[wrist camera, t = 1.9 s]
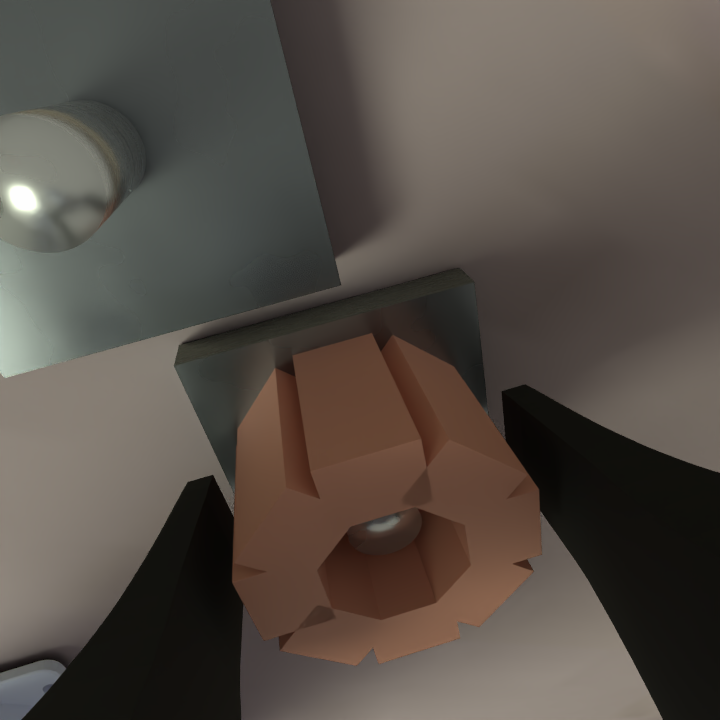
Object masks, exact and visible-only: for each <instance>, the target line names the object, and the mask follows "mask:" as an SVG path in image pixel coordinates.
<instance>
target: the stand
mask: <svg viewBox="0 0 720 720" xmlns="http://www.w3.org/2000/svg"><path fill="white" fill-rule="evenodd" d="M370 333H372V334H373V337H374V339H375V341H376V343H377V345H378V347H379V349H380V352H381V351H382V349H383V348H384V346H385V345H386V343H387V342H388V341H389V339H390V338H391V336H392V335H394V336H396V337H398V338H400V339H402V340H404V341H406V342H408V343H410V344H411V345H413V346H415V347H417V348H419V349H421V350H423V351H425V352H427V353H429V354H431V355H433V356H435V357H437V358H438V359H440V360H442V361H444V362H446V363H448V364H450V365H452V366H454V367H455V369H456V370H457V372H458V373H459V375H460V376H461V378H462V379H463V380H464V381H465V383H466V384H467V386H468V387H469V389H470V390H471V392H472V393H473V394H474V396H475V397H476V399H477V400H478V402H479V403H480V405H481V406H482V408H483V409H484V410H485V412H486V413H487V415H488V408H487V398H486V389H485V379H484V370H483V360H482V351H481V341H480V332H479V322H478V313H477V303H476V294H475V284H474V281H473V280H471V279H470V278H469V277H468V276H467V275H466V274H465V273H464V272H463V271H462V270H461V269H460V268H456V269H453V270H449V271H445V272H442V273H438V274H435V275H431V276H427V277H424V278H420V279H417V280H413V281H409V282H406V283H402V284H398V285H395V286H391V287H388V288H384V289H380V290H377V291H373V292H370V293H366V294H362V295H359V296H355V297H352V298H348V299H344V300H341V301H337V302H334V303H330V304H326V305H323V306H319V307H315V308H312V309H308V310H305V311H301V312H297V313H294V314H290V315H287V316H283V317H279V318H276V319H272V320H269V321H265V322H261V323H258V324H254V325H251V326H247V327H243V328H240V329H236V330H233V331H229V332H225V333H222V334H218V335H214V336H211V337H207V338H204V339H200V340H196V341H193V342H189V343H186V344H182V345H179V347H178V352H177V356H176V360H175V364H174V367H175V369H176V371H177V374H178V376H179V378H180V380H181V382H182V384H183V386H184V388H185V390H186V393H187V395H188V397H189V399H190V401H191V403H192V405H193V407H194V410H195V412H196V414H197V416H198V418H199V420H200V422H201V424H202V426H203V429H204V431H205V433H206V435H207V437H208V439H209V441H210V443H211V446H212V448H213V450H214V452H215V454H216V456H217V458H218V460H219V462H220V465H221V467H222V469H223V471H224V473H225V475H226V477H227V479H228V482H229V484H230V486H231V488H232V490H233V492H234V494H235V468H236V445H237V430H238V427H239V426H240V424H241V422H242V421H243V419H244V418H245V416H246V414H247V413H248V411H249V409H250V408H251V406H252V405H253V403H254V401H255V400H256V398H257V396H258V395H259V393H260V392H261V390H262V388H263V387H264V385H265V383H266V382H267V380H268V379H269V377H270V375H271V374H272V372H273V371H274V369H275V368H277V369H279V370H281V371H283V372H286V373H288V374H290V375H293V376H295V369H294V363H293V356H292V355H296V354H299V353H303V352H306V351H310V350H313V349H317V348H320V347H324V346H328V345H331V344H335V343H338V342H342V341H345V340H349V339H352V338H356V337H360V336H363V335H367V334H370ZM295 377H296V376H295ZM421 526H422V517H421V514H420V512H419V509H418V508H416V507H414V508H411V509H407V510H404V511H401V512H397V513H394V514H391V515H387V516H384V517H381V518H377V519H374V520H371V521H367V522H364V523H361V524H358V525H354V526H351V527H350V528H349V529H348V531H347V535H348V539H349V542H350V544H351V545H352V546H353V547H354V548H355V549H356V550H358V551H359V552H362V553H364V554H368V555H386V554H390V553H393V552H396V551H399V550H401V549H402V548H404V547H406V546H407V545H409V544H410V543H411V542H412V541H413V540H414V539H415V538H416V537H417V535H418V533H419V532H420V529H421Z"/></svg>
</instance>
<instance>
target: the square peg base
mask: <svg viewBox="0 0 720 720" xmlns="http://www.w3.org/2000/svg"><path fill="white" fill-rule="evenodd" d="M340 285H341V282H340V278H339V274H338V270H337V266H336V262H335V258H334V254H333V250H332V246H331V242H330V238H329V234H328V230H327V226H326V222H325V218H324V214H323V210H322V206H321V202H320V198H319V194H318V190H317V186H316V182H315V178H314V174H313V170H312V166H311V162H310V158H309V154H308V150H307V146H306V142H305V138H304V134H303V130H302V126H301V122H300V118H299V114H298V110H297V106H296V102H295V98H294V94H293V90H292V86H291V82H290V78H289V74H288V70H287V66H286V62H285V58H284V54H283V50H282V46H281V42H280V38H279V34H278V30H277V26H276V22H275V18H274V14H273V10H272V6H271V2H270V0H0V372H1V374H2V375H3V377H4V378H6V377H10V376H13V375H17V374H21V373H24V372H28V371H32V370H35V369H39V368H42V367H46V366H50V365H53V364H57V363H61V362H64V361H68V360H72V359H75V358H79V357H82V356H86V355H90V354H93V353H97V352H101V351H104V350H108V349H111V348H115V347H119V346H122V345H126V344H130V343H133V342H137V341H140V340H144V339H148V338H151V337H155V336H159V335H162V334H166V333H170V332H173V331H177V330H180V329H184V328H188V327H191V326H195V325H199V324H202V323H206V322H209V321H213V320H217V319H220V318H224V317H228V316H231V315H235V314H238V313H242V312H246V311H249V310H253V309H257V308H260V307H264V306H268V305H271V304H275V303H278V302H282V301H286V300H289V299H293V298H297V297H300V296H304V295H307V294H311V293H315V292H318V291H322V290H326V289H329V288H333V287H336V286H340Z"/></svg>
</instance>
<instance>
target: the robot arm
mask: <svg viewBox="0 0 720 720" xmlns="http://www.w3.org/2000/svg"><path fill="white" fill-rule="evenodd" d="M502 402H503V413H504V425H505V437H506V442H507V444H508V445H509V447H510V448H511V450H512V451H513V452H514V454H515V455H516V457H517V458H518V460H519V461H520V463H521V464H522V466H523V467H524V468H525V470H526V471H527V473H528V474H529V476H530V477H531V479H532V480H533V481H534V483H535V484H536V486H537V487H538V489H539V501H540V511H541V512H542V514H543V515H544V516H545V518H546V519H547V521H548V522H549V524H550V525H551V526H552V528H553V529H554V531H555V532H556V534H557V535H558V536H559V538H560V539H561V541H562V542H563V543H564V545H565V546H566V548H567V549H568V551H569V552H570V553H571V555H572V556H573V558H574V559H575V560H576V562H577V563H578V565H579V566H580V568H581V570H582V571H583V573H584V574H585V576H586V577H587V579H588V581H589V582H590V584H591V586H592V588H593V589H594V591H595V593H596V595H597V596H598V598H599V600H600V602H601V603H602V605H603V607H604V609H605V610H606V612H607V614H608V616H609V618H610V619H611V621H612V623H613V625H614V627H615V629H616V630H617V632H618V634H619V636H620V638H621V640H622V641H623V643H624V645H625V647H626V649H627V651H628V653H629V654H630V656H631V658H632V660H633V662H634V664H635V666H636V668H637V670H638V672H639V673H640V675H641V677H642V679H643V681H644V683H645V685H646V687H647V689H648V691H649V693H650V695H651V697H652V699H653V701H654V702H655V704H656V706H657V708H658V710H659V712H660V714H661V716H662V718H663V720H720V473H718V472H715V471H712V470H708V469H705V468H702V467H699V466H696V465H693V464H690V463H688V462H685V461H682V460H680V459H677V458H674V457H672V456H669V455H666V454H664V453H661V452H658V451H656V450H654V449H651V448H649V447H646V446H644V445H642V444H639V443H637V442H635V441H633V440H631V439H628V438H626V437H624V436H622V435H620V434H617V433H615V432H613V431H611V430H609V429H607V428H605V427H603V426H601V425H599V424H597V423H595V422H593V421H591V420H589V419H587V418H585V417H583V416H582V415H580V414H578V413H576V412H574V411H572V410H570V409H569V408H567V407H565V406H563V405H561V404H560V403H558V402H556V401H554V400H553V399H551V398H549V397H547V396H545V395H544V394H542V393H540V392H538V391H537V390H535V389H533V388H531V387H529V386H527V385H526V384H525V385H521V386H518V387H515V388H511V389H508V390H504V391H502ZM233 535H234V517H233V515H232V513H231V511H230V509H229V507H228V505H227V502H226V500H225V498H224V496H223V494H222V492H221V490H220V488H219V486H218V484H217V482H216V480H215V478H214V476H213V475H211V476H207V477H204V478H200V479H197V480H194V481H190V482H188V483H187V484H186V486H185V488H184V490H183V491H182V493H181V495H180V497H179V499H178V501H177V502H176V504H175V506H174V508H173V510H172V512H171V514H170V515H169V517H168V519H167V521H166V523H165V525H164V526H163V528H162V530H161V532H160V534H159V535H158V537H157V539H156V541H155V542H154V544H153V546H152V548H151V549H150V551H149V553H148V555H147V556H146V558H145V560H144V561H143V563H142V565H141V566H140V568H139V570H138V571H137V573H136V574H135V576H134V577H133V579H132V581H131V582H130V584H129V585H128V587H127V588H126V590H125V592H124V593H123V595H122V596H121V598H120V599H119V601H118V602H117V604H116V605H115V607H114V608H113V609H112V611H111V612H110V614H109V615H108V617H107V618H106V619H105V621H104V622H103V623H102V625H101V626H100V627H99V629H98V630H97V631H96V633H95V634H94V635H93V637H92V638H91V639H90V641H89V642H88V643H87V644H86V646H85V647H84V648H83V649H82V651H81V652H80V653H79V654H78V655H77V657H76V658H75V659H74V660H73V661H72V663H71V664H70V665H69V666H68V667H67V668H65V667H64V666H63V665H62V664H61V663H60V662H58V661H55V660H41V661H38V662H34V663H31V664H28V665H25V666H21V667H18V668H15V669H12V670H8V671H5V672H2V673H0V720H241V702H240V658H241V638H242V618H243V602H242V600H241V598H240V596H239V594H238V593H237V591H236V589H235V587H234V585H233V583H232V569H233Z"/></svg>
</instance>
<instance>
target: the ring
mask: <svg viewBox="0 0 720 720" xmlns="http://www.w3.org/2000/svg"><path fill="white" fill-rule="evenodd" d="M292 356H293V363H294V369H295V376H296V377H295V376H293V375H290V374H288V373H286V372H283V371H281V370H279V369H277V368H275V369H274V371H273V372H272V374H271V375H270V377H269V379H268V380H267V382H266V383H265V385H264V387H263V388H262V390H261V392H260V393H259V395H258V396H257V398H256V400H255V401H254V403H253V405H252V406H251V408H250V409H249V411H248V413H247V414H246V416H245V418H244V419H243V421H242V422H241V424H240V426H239V427H238V430H237V445H236V468H235V501H234V535H233V569H232V583H233V585H234V587H235V589H236V591H237V593H238V594H239V596H240V598H241V600H242V602H243V604H244V605H245V607H246V609H247V611H248V613H249V615H250V617H251V618H252V620H253V622H254V624H255V626H256V628H257V629H258V631H259V633H260V635H261V637H262V639H263V640H264V641H266V640H269V639H272V638H275V637H278V636H279V646H280V651H283V652H288V653H293V654H299V655H304V656H309V657H314V658H319V659H324V660H329V661H334V662H340V663H345V664H350V665H355V666H357V665H358V664H359V663H360V662H361V661H362V659H363V658H364V657H365V656H366V655H367V654H368V653H369V652H370V650H371V649H372V648H373V649H374V652H375V655H376V658H377V661H378V663H379V664H381V663H384V662H387V661H390V660H393V659H396V658H399V657H403V656H406V655H409V654H412V653H415V652H418V651H422V650H425V649H428V648H431V647H434V646H437V645H440V644H444V643H447V642H450V641H453V640H456V639H459V638H460V634H459V629H458V624H457V621H458V622H462V623H466V624H469V625H473V626H477V627H480V626H481V625H482V624H483V623H484V622H485V621H486V620H487V619H488V618H489V617H490V616H491V615H492V614H493V613H494V612H495V610H496V609H497V608H498V607H499V606H500V605H501V604H502V603H503V602H504V601H505V600H506V599H507V598H508V597H509V596H510V595H511V594H512V593H513V592H514V591H515V590H516V589H517V588H518V587H519V586H520V585H521V584H522V583H523V582H524V581H525V580H526V579H527V578H528V577H529V576H530V575H531V574H532V573H533V572H534V571H533V569H532V567H531V565H530V564H529V562H528V560H527V559H529V558H532V557H536V556H539V555H542V545H541V523H540V501H539V489H538V487H537V486H536V484H535V483H534V481H533V480H532V479H531V477H530V476H529V474H528V473H527V471H526V470H525V468H524V467H523V466H522V464H521V463H520V461H519V460H518V458H517V457H516V455H515V454H514V452H513V451H512V450H511V448H510V447H509V445H508V444H507V442H506V441H505V439H504V438H503V437H502V435H501V434H500V432H499V431H498V429H497V428H496V426H495V425H494V423H493V422H492V421H491V419H490V418H489V416H488V415H487V413H486V412H485V410H484V409H483V408H482V406H481V405H480V403H479V402H478V400H477V399H476V397H475V396H474V394H473V393H472V392H471V390H470V389H469V387H468V386H467V384H466V383H465V381H464V380H463V379H462V378H461V376H460V375H459V373H458V372H457V370H456V369H455V367H454V366H452V365H450V364H448V363H446V362H444V361H442V360H440V359H438V358H437V357H435V356H433V355H431V354H429V353H427V352H425V351H423V350H421V349H419V348H417V347H415V346H413V345H411V344H410V343H408V342H406V341H404V340H402V339H400V338H398V337H396V336H394V335H392V336H391V338H390V339H389V341H388V342H387V343H386V345H385V346H384V348H383V349H382V351H381V352H380V349H379V347H378V345H377V343H376V341H375V339H374V337H373V334H372V333H370V334H367V335H363V336H360V337H356V338H352V339H349V340H345V341H342V342H338V343H335V344H331V345H328V346H324V347H320V348H317V349H313V350H310V351H306V352H303V353H299V354H296V355H292ZM414 507H416V508H418V509H419V512H420V514H421V517H422V526H421V529H420V532H419V533H418V535H417V537H416V538H415V539H414V540H413V541H412V542H411V543H410V544H409V545H407V546H406V547H404V548H402V549H401V550H399V551H396V552H393V553H390V554H386V555H368V554H364V553H362V552H359V551H358V550H356V549H355V548H354V547H353V546H352V545H351V544H350V542H349V539H348V535H347V531H348V529H349V528H350V527H351V526H354V525H358V524H361V523H364V522H367V521H371V520H374V519H377V518H381V517H384V516H387V515H391V514H394V513H397V512H401V511H404V510H407V509H411V508H414Z"/></svg>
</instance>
